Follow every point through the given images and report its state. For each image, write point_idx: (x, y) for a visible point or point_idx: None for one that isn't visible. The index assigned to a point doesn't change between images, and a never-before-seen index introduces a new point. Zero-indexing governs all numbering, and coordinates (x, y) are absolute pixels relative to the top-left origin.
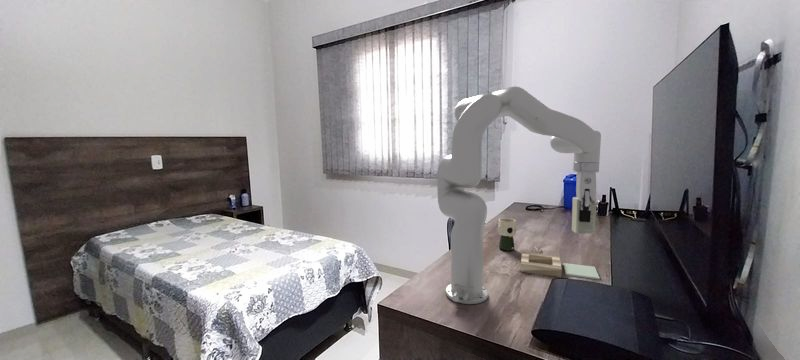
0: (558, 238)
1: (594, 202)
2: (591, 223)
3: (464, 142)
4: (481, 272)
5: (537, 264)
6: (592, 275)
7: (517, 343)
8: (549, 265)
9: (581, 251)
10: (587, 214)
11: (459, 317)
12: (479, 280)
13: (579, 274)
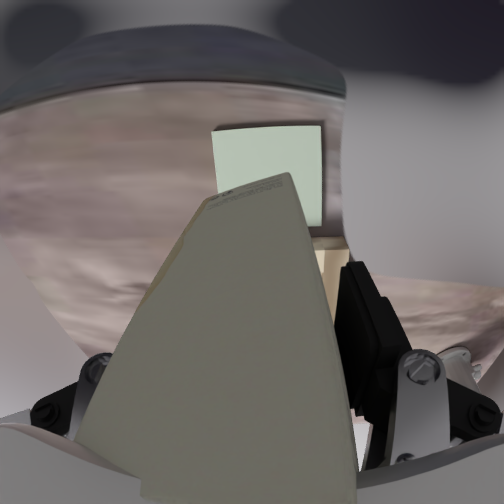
0: (17, 241)
1: (349, 433)
2: (308, 230)
3: None
4: (472, 385)
5: (331, 310)
6: (306, 145)
7: None
8: (330, 282)
9: (70, 176)
10: (400, 334)
11: (489, 352)
12: (471, 376)
13: (315, 186)
